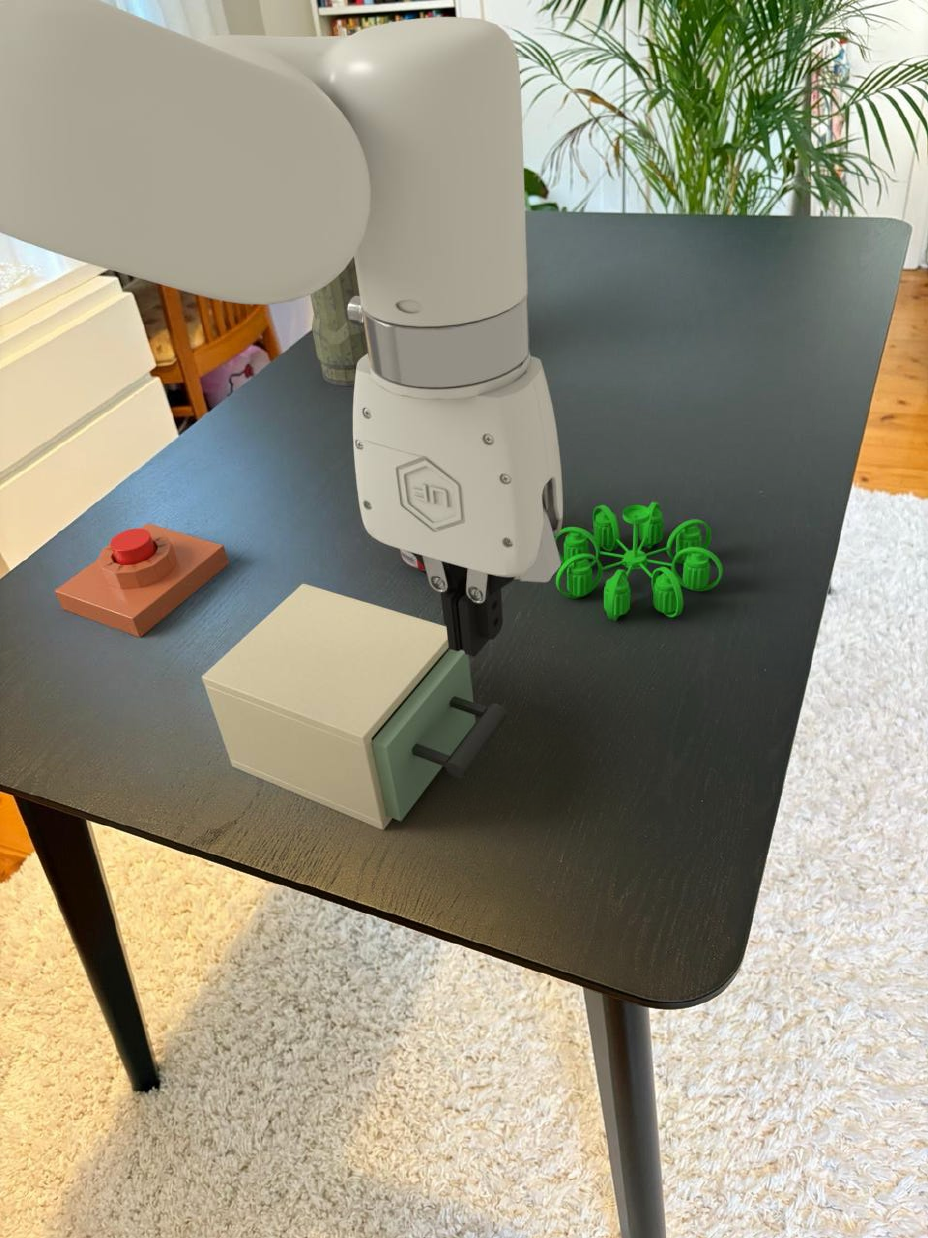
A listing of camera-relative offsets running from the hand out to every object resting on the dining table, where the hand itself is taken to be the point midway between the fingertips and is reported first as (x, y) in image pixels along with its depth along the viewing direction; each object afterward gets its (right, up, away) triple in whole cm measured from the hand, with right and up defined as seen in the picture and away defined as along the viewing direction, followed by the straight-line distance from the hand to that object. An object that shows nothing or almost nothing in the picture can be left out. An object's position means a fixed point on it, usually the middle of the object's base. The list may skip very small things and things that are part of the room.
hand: (474, 638), depth 56 cm
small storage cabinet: (-9, -8, +17) cm, 21 cm away
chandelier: (+14, +5, +30) cm, 34 cm away
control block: (-30, +4, +35) cm, 47 cm away
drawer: (-6, -9, +15) cm, 18 cm away
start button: (-31, +7, +33) cm, 46 cm away
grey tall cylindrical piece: (-15, +33, +69) cm, 77 cm away
